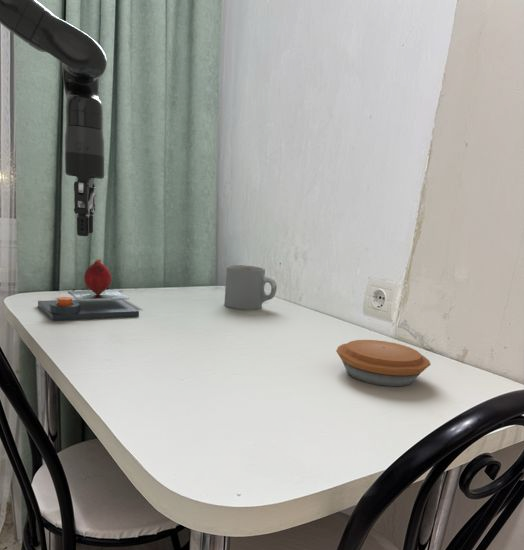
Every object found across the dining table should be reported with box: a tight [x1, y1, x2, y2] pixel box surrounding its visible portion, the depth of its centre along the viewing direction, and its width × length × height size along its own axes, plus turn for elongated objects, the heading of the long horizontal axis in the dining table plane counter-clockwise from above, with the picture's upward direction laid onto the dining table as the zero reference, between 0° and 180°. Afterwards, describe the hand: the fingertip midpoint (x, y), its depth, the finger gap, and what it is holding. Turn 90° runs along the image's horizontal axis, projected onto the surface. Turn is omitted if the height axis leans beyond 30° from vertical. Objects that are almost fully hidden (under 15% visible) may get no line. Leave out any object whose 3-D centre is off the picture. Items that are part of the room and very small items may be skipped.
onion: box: [83, 258, 112, 294], centre depth 113 cm, size 6×6×8 cm
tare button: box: [56, 296, 73, 306], centre depth 104 cm, size 3×3×2 cm
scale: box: [37, 299, 140, 322], centre depth 111 cm, size 18×14×3 cm
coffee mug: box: [223, 264, 277, 311], centre depth 132 cm, size 13×10×10 cm
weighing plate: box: [67, 289, 130, 301], centre depth 114 cm, size 11×9×1 cm
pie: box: [335, 339, 431, 387], centre depth 86 cm, size 15×16×5 cm
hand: (85, 234), depth 107 cm, fingers open, 8 cm apart
